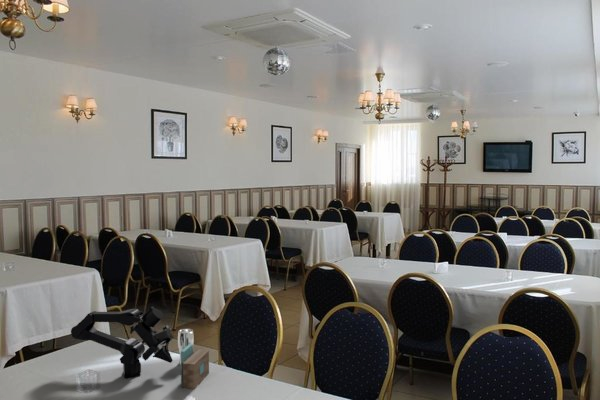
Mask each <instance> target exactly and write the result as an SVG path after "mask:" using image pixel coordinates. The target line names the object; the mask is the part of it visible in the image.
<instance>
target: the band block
mask: <svg viewBox="0 0 600 400" xmlns="http://www.w3.org/2000/svg"><path fill="white" fill-rule="evenodd" d="M203 362H204V372H203V373H202V374H201V375H200V365H201V364H202V363H203ZM209 374H210V350H209V349H208V350H206V349H195V350H194V351H193V353H192V354H191V355H190V356H189V357H188V358H187V359H186V360H184V361H183V362H182V363H181V365H180V376H181V375H182V383H181V388H182V389H196V388H197V387H198V386H197V385H200V383H202V381H203V380H204V379H205V378H206V377H207V376H208V375H209Z"/></svg>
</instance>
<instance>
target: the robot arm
mask: <svg viewBox="0 0 600 400" xmlns="http://www.w3.org/2000/svg"><path fill="white" fill-rule="evenodd" d="M164 318H165V316H164V313H163V312H162V310H160V309H158V308H155V307H154V306H151V307H149V309H148V310H147V311H146V312H145V311H141V310H139V309H138V308H131V309H126V310H123V311H96V310H93V311H90V312H89V313H87V314H86V315H85V317H84V318H83V319H82V320H81V321H79V322H78V323H77V324H76V325H75V326H73V327H72V328H71V329H70V335H71V337H72V339H75V340H77V341H92V342H94V343H97V344H99V345H101V346H105V347H107V348H110V349H113V350H116V351H118V352H120V354H121V355H122V356H121V357H120V358H119V360H120V364H121V365H123V366H122V375H123V378H124V379H128V378H129V379H130V378H135V377H140V376H141V373H142V363H141V361H140V359H141V358H142V359H143V360H144V361H145V362H146V361H147V360H148V359H150V357H151V356H152V355H153V356H152V357H153V358H156V359H160V360H162V361H165V362H167V363H170V364H171V363H172V362H173V358H172V355H171V352H170V350H169V345H170V342H171V341H172V340H173V339H174V335H173V333H172V330H173V329H172V328H171V327H170V326H169V325H168V324H166V325H165V326H163V328H162V329H161V330H160V331H158V329H157V330H156V329H153V328H155V327H156V326H157V325H158V324H159V323H160V322H161V321H162V320H163V319H164ZM96 323H119V324H120V325H124V326H129V327H130V331H129V334H131V335H132V334H133V333H136V334H137V335H138V336H139V338H140V339H141V340H139V339H136V338H133V337H131V338H129V339H127V340H124V339H122V338H119V337H116V336H114V335H111V334H108V333H106V332H103V331H101V330H98V329H96V327H95V324H96ZM134 324H135V325H134ZM145 344H146V346H147V347H148V348H147V349H146V346H145Z"/></svg>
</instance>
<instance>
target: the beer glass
mask: <svg viewBox="0 0 600 400" xmlns="http://www.w3.org/2000/svg"><path fill="white" fill-rule="evenodd" d="M177 331H178V332H177V333H178V334H177V347H178V351H179V361H178V362H179V363H178V365H179V366H181V351H182V350H183V349H184V348H185V347H187V346H188V345H189V344H193V345H194V341H195V340H194V336H195V335H194V329H191V328H181V329H179V330H177Z"/></svg>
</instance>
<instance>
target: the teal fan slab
mask: <svg viewBox="0 0 600 400" xmlns="http://www.w3.org/2000/svg"><path fill="white" fill-rule="evenodd" d="M193 352H194V343H193V344H189V345H188V346H187V347H185V348H184V349H183V350H182V351H181V363H182V362H183V361H184V360H186V359H187V358H188V357H189V356H190V355H191V354H192V353H193ZM203 372H204V362H203V363H202V364H201V365H200V375H201V374H202V373H203ZM180 383H181V384H182V375H181V374H180Z"/></svg>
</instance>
